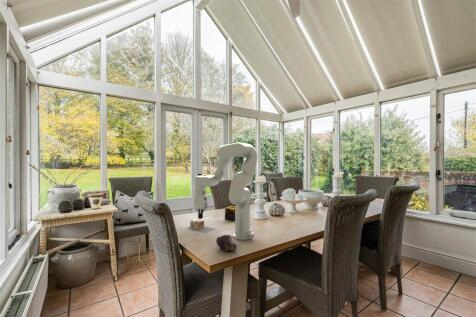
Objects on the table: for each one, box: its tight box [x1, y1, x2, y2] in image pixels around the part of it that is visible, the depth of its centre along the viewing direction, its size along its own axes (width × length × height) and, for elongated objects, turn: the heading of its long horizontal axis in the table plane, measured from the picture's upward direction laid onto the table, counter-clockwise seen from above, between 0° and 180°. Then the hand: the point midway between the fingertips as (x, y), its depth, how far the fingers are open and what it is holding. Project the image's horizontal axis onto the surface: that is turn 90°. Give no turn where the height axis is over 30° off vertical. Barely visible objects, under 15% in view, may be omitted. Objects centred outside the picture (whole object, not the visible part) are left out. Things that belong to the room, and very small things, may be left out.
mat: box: [186, 225, 216, 233], centre depth 160 cm, size 19×10×1 cm, turn 55°
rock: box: [215, 234, 238, 252], centre depth 123 cm, size 12×9×10 cm
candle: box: [224, 205, 236, 222], centre depth 186 cm, size 10×10×10 cm
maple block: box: [189, 218, 205, 229], centre depth 162 cm, size 5×5×9 cm
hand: (200, 218), depth 160 cm, fingers closed
